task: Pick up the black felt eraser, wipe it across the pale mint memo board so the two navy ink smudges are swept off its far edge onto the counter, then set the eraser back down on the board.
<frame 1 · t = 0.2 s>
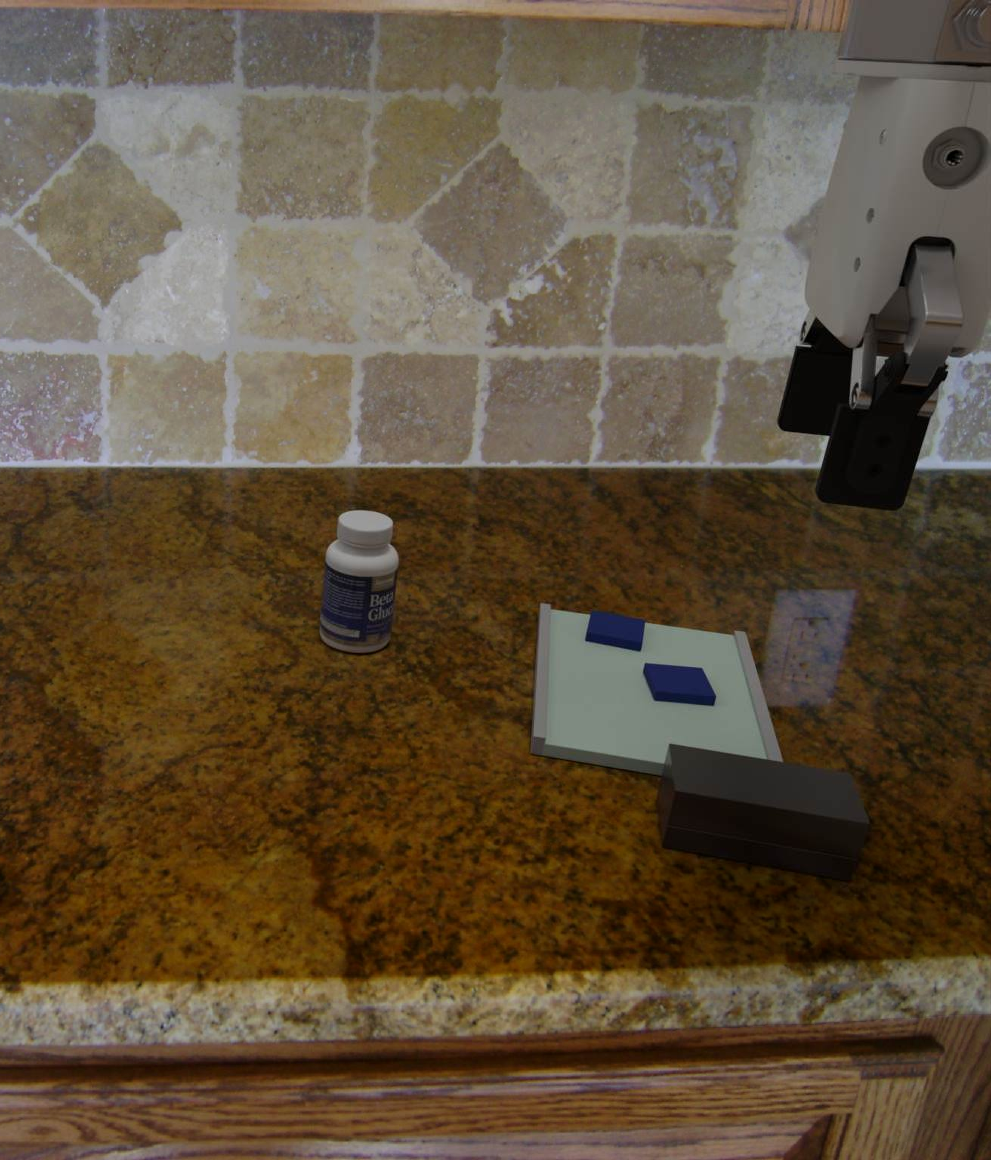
hand: (832, 465, 51), 25 cm above the table, tool pointing down, fingers open, 9 cm apart
eraser: (748, 838, 68), on the table
board: (644, 696, 82), on the table
smudge a: (677, 688, 81), point 1 cm above the table, touching board
pill bottle: (354, 640, 89), on the table
smudge b: (614, 634, 88), point 1 cm above the table, touching board
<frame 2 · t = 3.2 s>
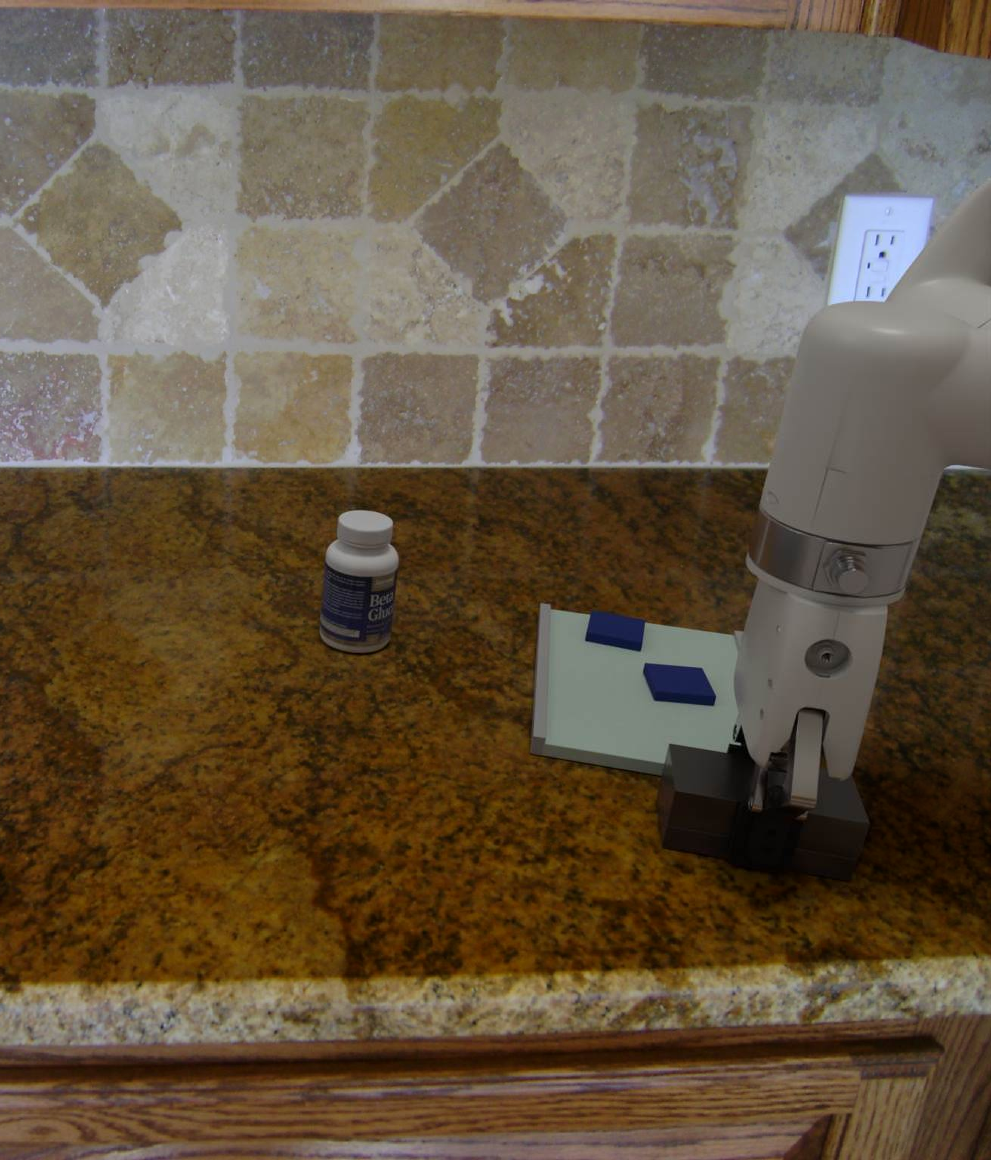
hand: (750, 832, 68), 0 cm above the table, tool pointing down, fingers closed on eraser, 5 cm apart
eraser: (748, 838, 68), on the table, touching gripper
everything else where it was.
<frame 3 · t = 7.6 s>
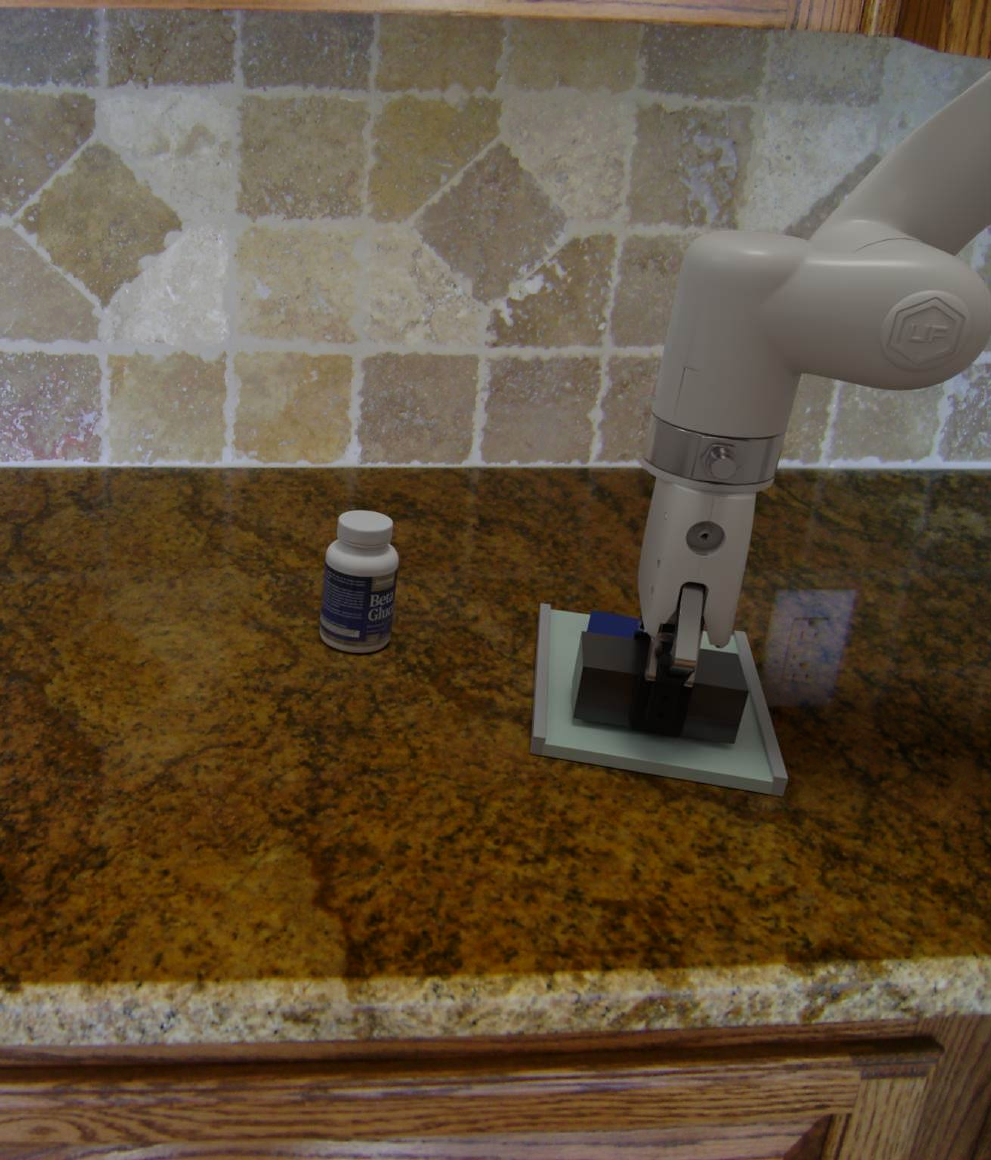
hand: (651, 706, 77), 2 cm above the table, tool pointing down, fingers closed on eraser, 5 cm apart
eraser: (649, 711, 77), point 2 cm above the table, touching gripper
smudge a: (675, 685, 82), point 1 cm above the table, touching board, gripper
everything else where it was.
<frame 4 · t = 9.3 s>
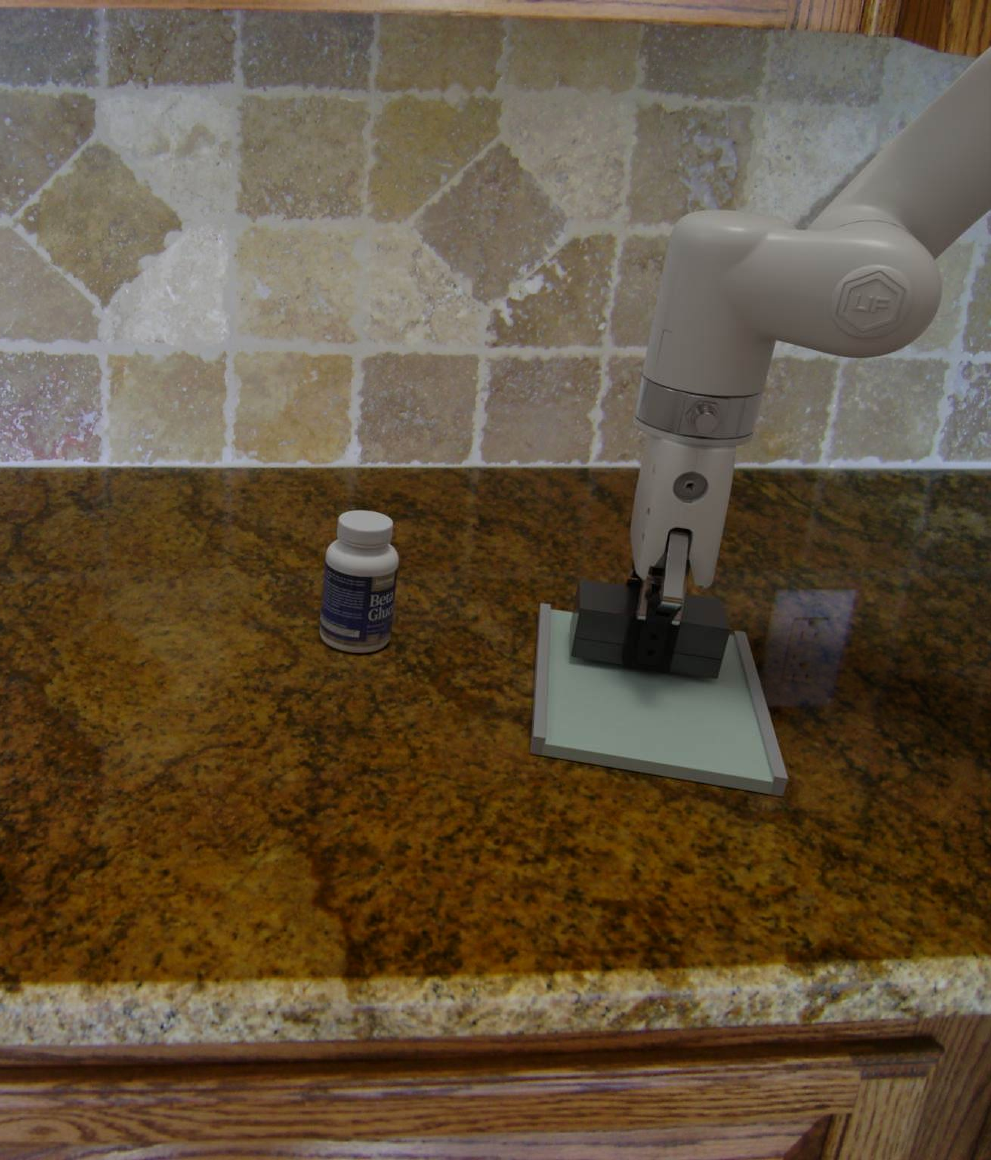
hand: (642, 646, 85), 2 cm above the table, tool pointing down, fingers closed on eraser, 5 cm apart
eraser: (640, 651, 85), point 2 cm above the table, touching gripper, smudge a, smudge b
smudge a: (666, 635, 88), point 1 cm above the table, touching board, eraser, gripper
smudge b: (609, 627, 89), point 1 cm above the table, touching eraser, gripper
everything else where it was.
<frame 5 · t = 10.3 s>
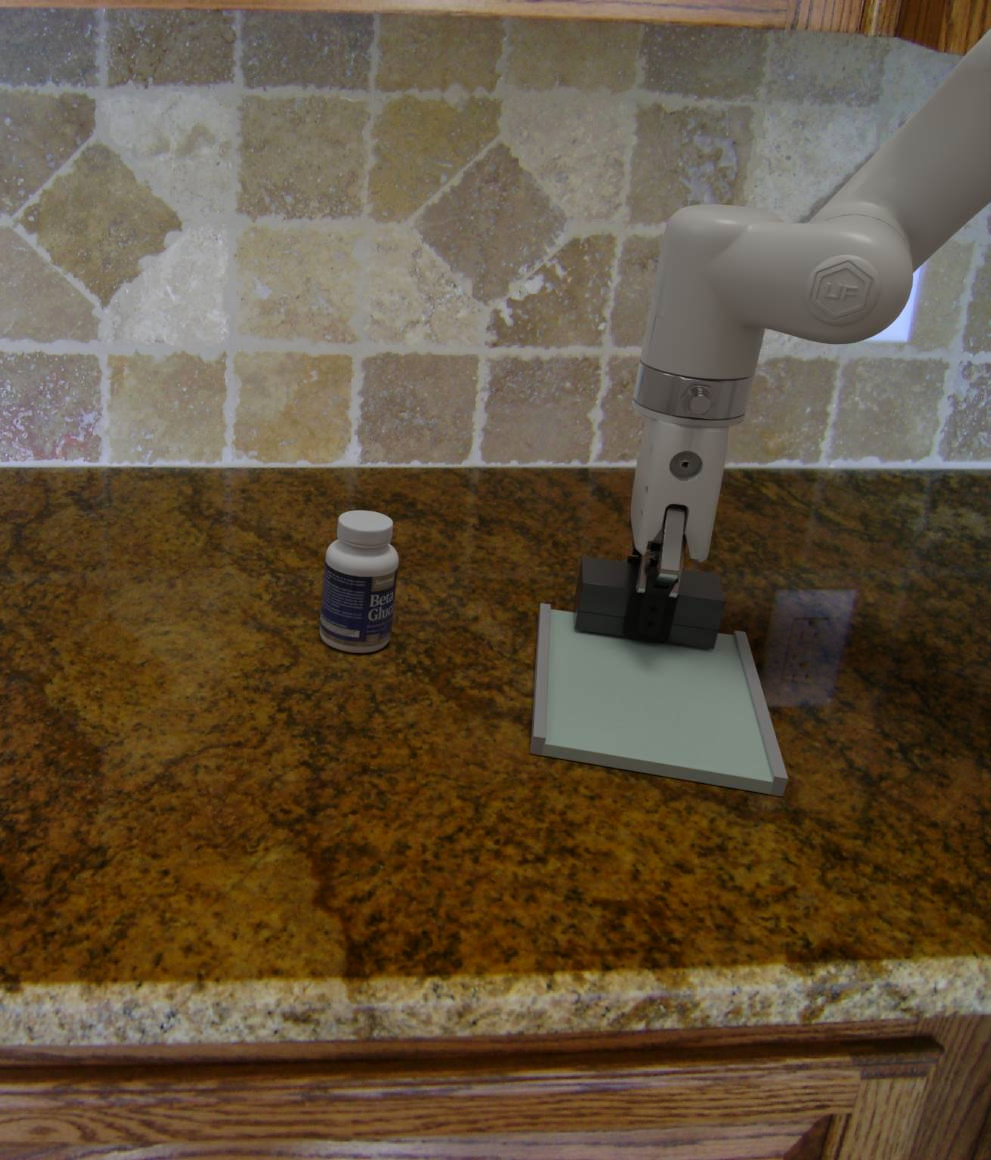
hand: (642, 619, 89), 2 cm above the table, tool pointing down, fingers closed on eraser, 5 cm apart
eraser: (641, 624, 89), point 1 cm above the table, touching gripper
smudge a: (660, 623, 92), on the table
smudge b: (604, 619, 93), on the table
everything else where it was.
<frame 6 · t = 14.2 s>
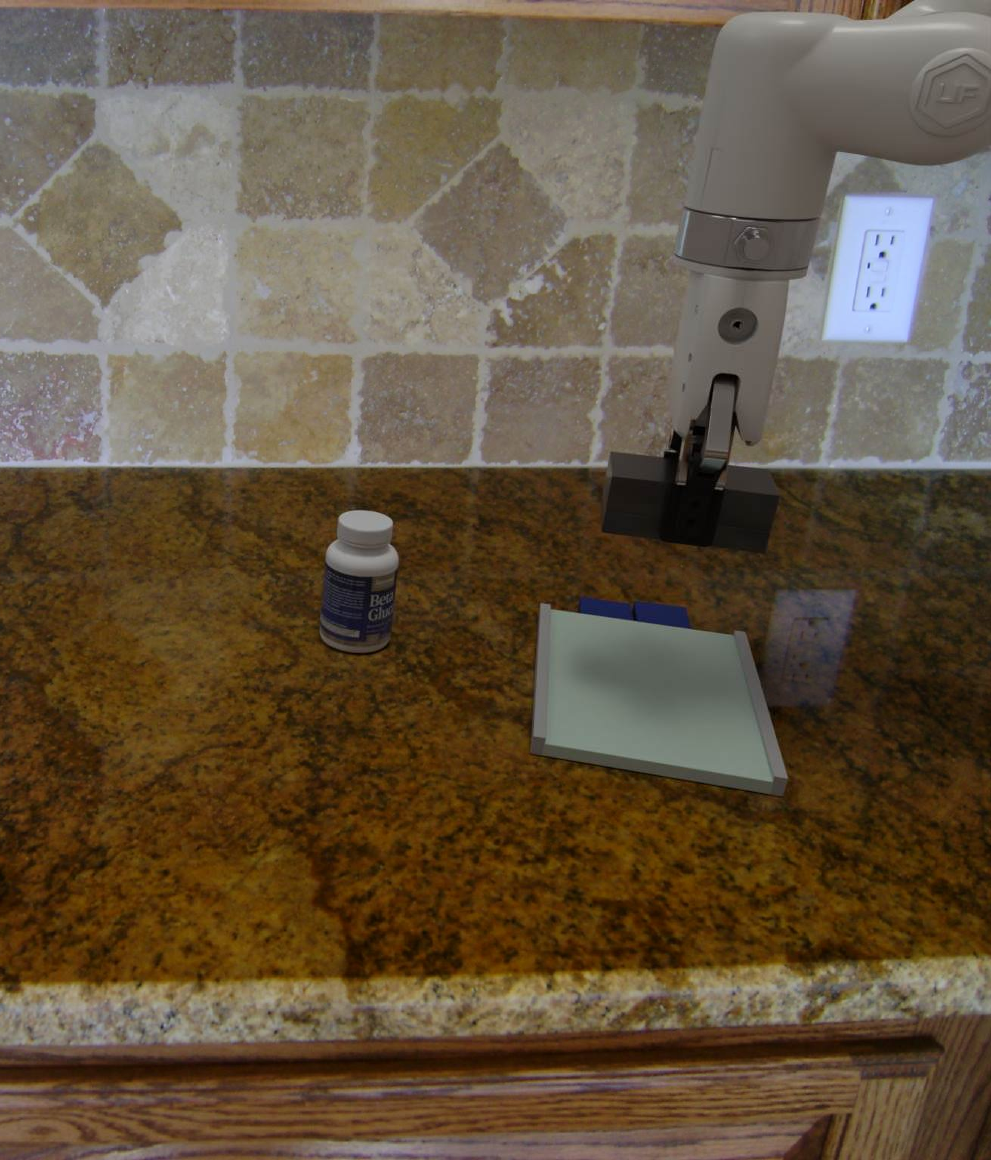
hand: (681, 523, 77), 13 cm above the table, tool pointing down, fingers closed on eraser, 5 cm apart
eraser: (679, 529, 77), point 13 cm above the table, touching gripper
everything else where it was.
when the fingers open (1 cm above the table, at t = 17.4 s): eraser stays where it is, resting on board.
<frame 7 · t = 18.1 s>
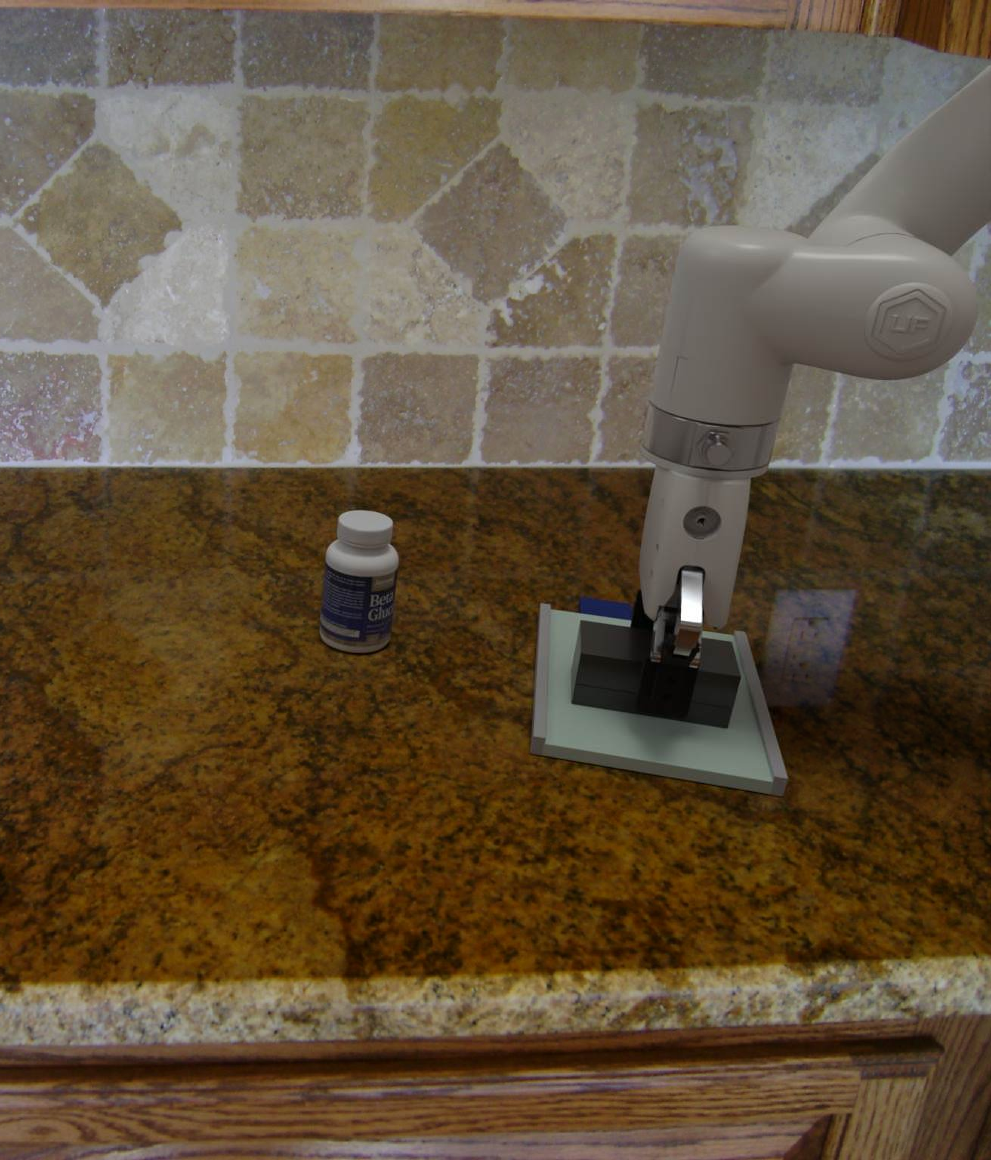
hand: (655, 676, 79), 3 cm above the table, tool pointing down, fingers open, 9 cm apart
eraser: (646, 697, 80), point 1 cm above the table, touching board
everything else where it was.
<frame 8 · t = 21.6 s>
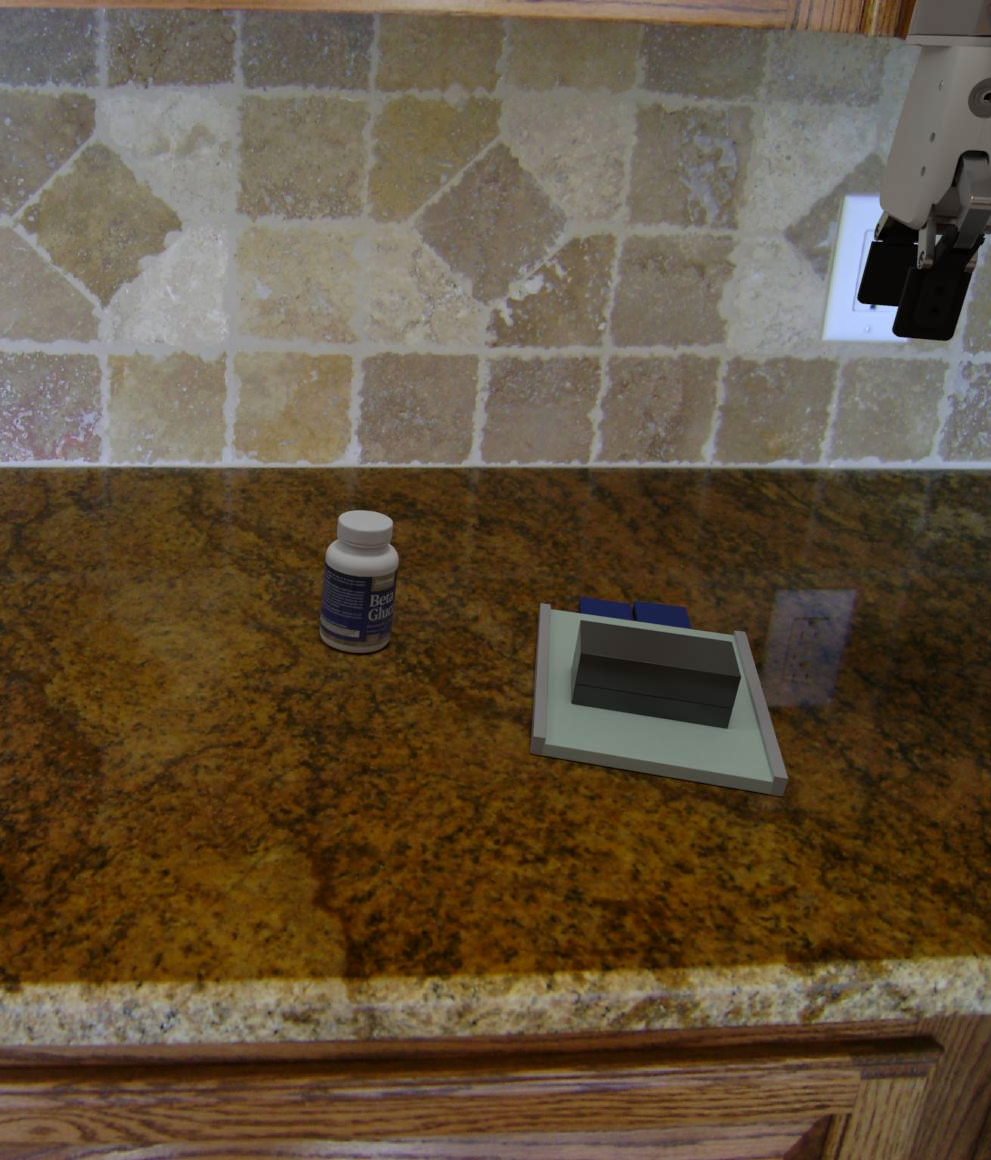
hand: (900, 320, 74), 26 cm above the table, tool pointing down, fingers open, 9 cm apart
nothing on the table moved.
at the end: smudge a on the table; smudge b on the table; eraser inside the target area on the board (2.0 cm from its centre), point 1.0 cm above the board's base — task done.
